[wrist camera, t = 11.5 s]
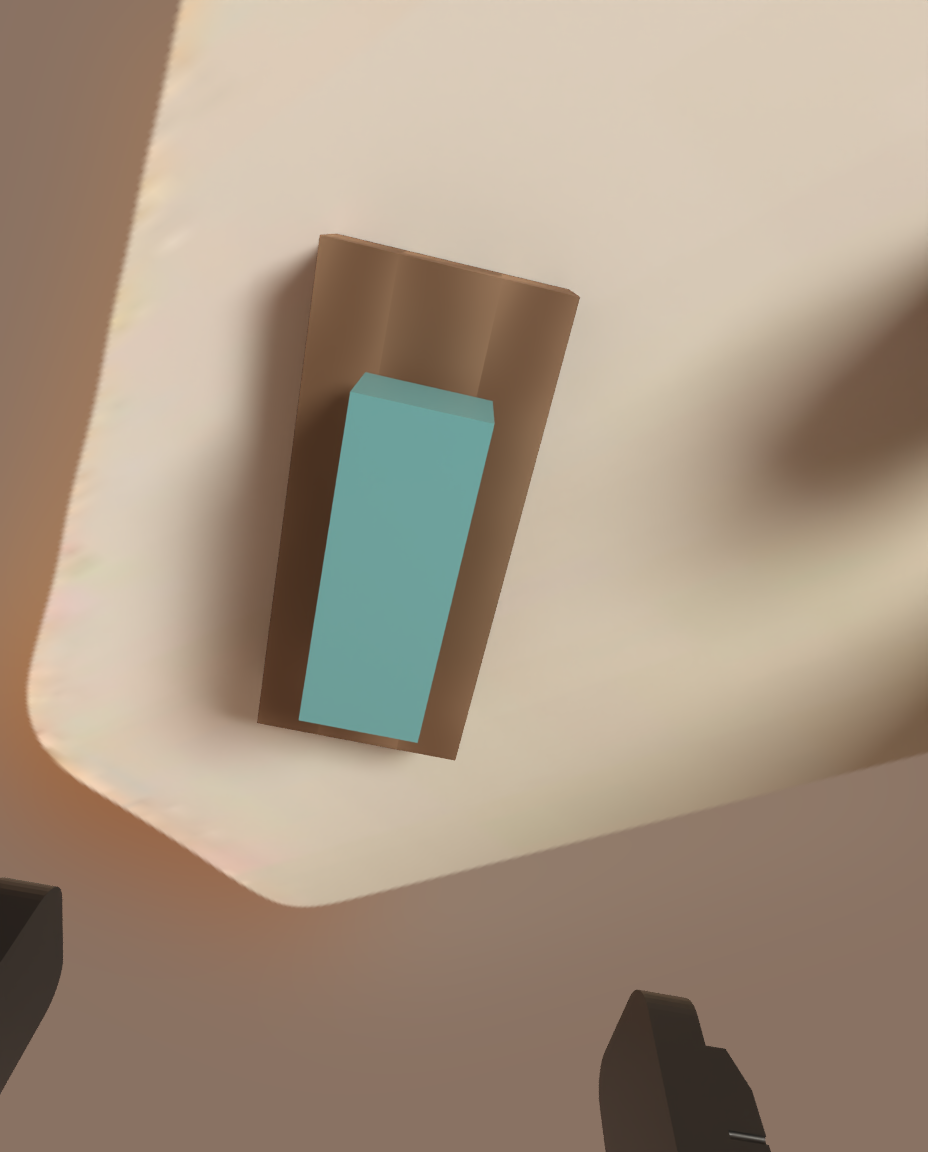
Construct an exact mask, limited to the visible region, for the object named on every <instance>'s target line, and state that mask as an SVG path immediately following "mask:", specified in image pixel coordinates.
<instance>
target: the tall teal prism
mask: <svg viewBox="0 0 928 1152" xmlns="http://www.w3.org/2000/svg"><path fill="white" fill-rule="evenodd" d="M493 428H494V411H493V401H490V400H486V399H481V398H477V397H472V396H468V395H464V394H459V393H455V392H451V391H446V390H442V389H437V388H433V387H429V386H424V385H420V384H415V383H411V382H407V381H402V380H398V379H393V378H389V377H385V376H380V375H376V374H371V373H367V372H365V373H364V374H363V376H362V377H361V378H360V380H359V381H358V382H357V384H356V385H355V386H354V387H353V389H352V390H351V391H350V396H349V403H348V409H347V416H346V422H345V428H344V435H343V441H342V447H341V454H340V460H339V466H338V473H337V479H336V486H335V492H334V498H333V505H332V511H331V517H330V524H329V530H328V536H327V543H326V549H325V555H324V562H323V568H322V575H321V581H320V587H319V594H318V600H317V606H316V613H315V619H314V625H313V632H312V638H311V645H310V651H309V657H308V664H307V670H306V676H305V683H304V689H303V695H302V702H301V708H300V715H299V720H300V721H305V722H311V723H316V724H321V725H326V726H332V727H337V728H342V729H347V730H352V731H358V732H363V733H368V734H373V735H379V736H384V737H389V738H394V739H400V740H405V741H410V742H415V743H418V739H419V735H420V731H421V727H422V722H423V718H424V714H425V710H426V706H427V702H428V698H429V693H430V689H431V685H432V681H433V677H434V673H435V669H436V664H437V660H438V656H439V652H440V648H441V644H442V640H443V635H444V631H445V627H446V623H447V619H448V615H449V611H450V606H451V602H452V598H453V594H454V590H455V586H456V582H457V577H458V573H459V569H460V565H461V561H462V557H463V553H464V548H465V544H466V540H467V536H468V532H469V528H470V524H471V519H472V515H473V511H474V507H475V503H476V499H477V495H478V490H479V486H480V482H481V478H482V474H483V470H484V466H485V461H486V457H487V453H488V449H489V445H490V441H491V437H492V432H493Z"/></svg>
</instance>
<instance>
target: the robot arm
mask: <svg viewBox="0 0 928 1152" xmlns="http://www.w3.org/2000/svg"><path fill="white" fill-rule="evenodd" d="M62 929H63V928H62V892H61V889H60V888H59V887H56V886H50V885H44V884H39V883H33V882H27V881H21V880H16V879H10V878H0V1093H1V1092H2V1090H3V1088H4V1086H5V1085H6V1083H7V1081H8V1079H9V1077H10V1075H11V1073H12V1072H13V1070H14V1069H15V1067H16V1065H17V1063H18V1061H19V1060H20V1058H21V1056H22V1054H23V1052H24V1051H25V1049H26V1047H27V1045H28V1044H29V1042H30V1040H31V1038H32V1037H33V1035H34V1033H35V1031H36V1029H37V1028H38V1026H39V1024H40V1022H41V1021H42V1019H43V1017H44V1015H45V1013H46V1011H47V1010H48V1008H49V1005H50V1003H51V1001H52V999H53V996H54V994H55V991H56V988H57V985H58V982H59V978H60V975H61V970H62V964H63V930H62ZM599 1102H600V1111H601V1119H602V1127H603V1135H604V1142H605V1150H606V1152H771V1151H770V1148H769V1145H766V1142H765V1137H766V1135H765V1132H764V1129H763V1125H762V1122H761V1119H760V1116H759V1112H758V1109H757V1106H756V1103H755V1099H754V1096H753V1093H752V1090H751V1088H750V1087H749V1085H748V1084H747V1082H746V1080H745V1079H744V1077H743V1076H742V1074H741V1073H740V1071H739V1070H738V1068H737V1066H736V1065H735V1063H734V1062H733V1060H732V1058H731V1057H730V1055H729V1054H728V1052H727V1051H726V1049H723V1048H716V1047H711V1046H705V1042H704V1038H703V1035H702V1031H701V1027H700V1023H699V1020H698V1016H697V1013H696V1010H695V1008H694V1005H693V1004H692V1002H691V1001H690V1000H689V999H687V998H682V997H676V996H671V995H665V994H659V993H653V992H648V991H641V990H635V991H634V992H633V993H632V994H631V996H630V998H629V1000H628V1002H627V1005H626V1007H625V1009H624V1011H623V1013H622V1016H621V1018H620V1020H619V1022H618V1024H617V1026H616V1029H615V1031H614V1033H613V1035H612V1038H611V1040H610V1042H609V1044H608V1046H607V1048H606V1051H605V1053H604V1056H603V1059H602V1064H601V1069H600V1078H599Z"/></svg>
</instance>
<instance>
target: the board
mask: <svg viewBox="0 0 928 1152" xmlns="http://www.w3.org/2000/svg"><path fill="white" fill-rule="evenodd" d="M579 299H580V297H579V296H578V295H576V294H575V293H573V292H572V291H570V290H569V289H564V288H560V287H556V286H552V285H548V284H544V283H539V282H535V281H531V280H527V279H523V278H519V277H514V276H510V275H506V274H502V273H498V272H494V271H489V270H485V269H481V268H477V267H473V266H469V265H464V264H460V263H456V262H452V261H448V260H444V259H439V258H435V257H431V256H427V255H423V254H419V253H414V252H410V251H406V250H402V249H398V248H394V247H389V246H385V245H381V244H377V243H373V242H369V241H364V240H360V239H356V238H352V237H348V236H344V235H339V234H326V235H320V238H319V246H318V253H317V261H316V269H315V277H314V285H313V292H312V300H311V308H310V316H309V324H308V331H307V339H306V347H305V355H304V362H303V370H302V378H301V386H300V394H299V401H298V409H297V417H296V425H295V433H294V440H293V448H292V456H291V464H290V471H289V479H288V487H287V495H286V503H285V510H284V518H283V526H282V534H281V542H280V549H279V557H278V565H277V573H276V580H275V588H274V596H273V604H272V612H271V619H270V627H269V635H268V643H267V651H266V658H265V666H264V674H263V682H262V689H261V697H260V705H259V713H258V721H257V723H260V724H266V725H271V726H276V727H281V728H287V729H292V730H297V731H302V732H308V733H313V734H318V735H324V736H329V737H334V738H339V739H345V740H350V741H355V742H361V743H366V744H371V745H376V746H382V747H387V748H392V749H398V750H403V751H408V752H413V753H419V754H424V755H429V756H435V757H440V758H445V759H450V760H455V759H456V755H457V752H458V748H459V744H460V741H461V737H462V733H463V729H464V726H465V722H466V718H467V715H468V711H469V707H470V703H471V700H472V696H473V692H474V689H475V685H476V681H477V677H478V674H479V670H480V666H481V663H482V659H483V655H484V651H485V648H486V644H487V640H488V637H489V633H490V629H491V625H492V622H493V618H494V614H495V611H496V607H497V603H498V599H499V596H500V592H501V588H502V585H503V581H504V577H505V573H506V570H507V566H508V562H509V559H510V555H511V551H512V547H513V544H514V540H515V536H516V533H517V529H518V525H519V521H520V518H521V514H522V510H523V507H524V503H525V499H526V496H527V492H528V488H529V484H530V481H531V477H532V473H533V470H534V466H535V462H536V458H537V455H538V451H539V447H540V444H541V440H542V436H543V432H544V429H545V425H546V421H547V418H548V414H549V410H550V406H551V403H552V399H553V395H554V392H555V388H556V384H557V380H558V377H559V373H560V369H561V366H562V362H563V358H564V354H565V351H566V347H567V343H568V340H569V336H570V332H571V328H572V325H573V321H574V317H575V314H576V310H577V306H578V302H579ZM365 372H367V373H371V374H376V375H380V376H385V377H389V378H393V379H398V380H402V381H407V382H411V383H415V384H420V385H424V386H429V387H433V388H437V389H442V390H446V391H451V392H455V393H459V394H464V395H468V396H472V397H477V398H481V399H486V400H490V401H493V411H494V428H493V432H492V437H491V441H490V445H489V449H488V453H487V457H486V461H485V466H484V470H483V474H482V478H481V482H480V486H479V490H478V495H477V499H476V503H475V507H474V511H473V515H472V519H471V524H470V528H469V532H468V536H467V540H466V544H465V548H464V553H463V557H462V561H461V565H460V569H459V573H458V577H457V582H456V586H455V590H454V594H453V598H452V602H451V606H450V611H449V615H448V619H447V623H446V627H445V631H444V635H443V640H442V644H441V648H440V652H439V656H438V660H437V664H436V669H435V673H434V677H433V681H432V685H431V689H430V693H429V698H428V702H427V706H426V710H425V714H424V718H423V722H422V727H421V731H420V735H419V739H418V743H415V742H410V741H405V740H400V739H394V738H389V737H384V736H379V735H373V734H368V733H363V732H358V731H352V730H347V729H342V728H337V727H332V726H326V725H321V724H316V723H311V722H305V721H300V720H299V715H300V708H301V702H302V695H303V689H304V683H305V676H306V670H307V664H308V657H309V651H310V645H311V638H312V632H313V625H314V619H315V613H316V606H317V600H318V594H319V587H320V581H321V575H322V568H323V562H324V555H325V549H326V543H327V536H328V530H329V524H330V517H331V511H332V505H333V498H334V492H335V486H336V479H337V473H338V466H339V460H340V454H341V447H342V441H343V435H344V428H345V422H346V416H347V409H348V403H349V396H350V391H351V390H352V389H353V387H354V386H355V385H356V384H357V382H358V381H359V380H360V378H361V377H362V376H363V374H364V373H365Z"/></svg>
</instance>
